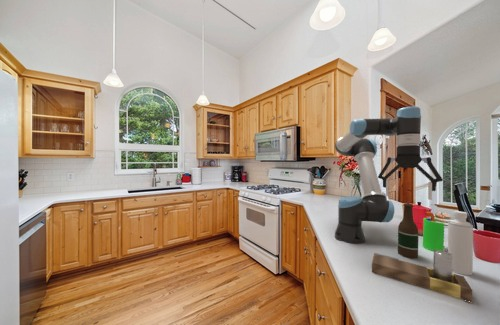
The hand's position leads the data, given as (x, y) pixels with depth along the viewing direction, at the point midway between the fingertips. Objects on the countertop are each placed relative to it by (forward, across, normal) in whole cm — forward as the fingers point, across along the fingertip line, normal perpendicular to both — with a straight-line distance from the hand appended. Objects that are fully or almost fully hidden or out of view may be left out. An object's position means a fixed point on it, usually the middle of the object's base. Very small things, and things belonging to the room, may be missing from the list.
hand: (407, 197), depth 79 cm
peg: (+29, +9, -10) cm, 32 cm away
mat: (+29, -7, +1) cm, 30 cm away
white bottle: (+29, +17, +10) cm, 35 cm away
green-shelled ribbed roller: (+29, +12, +31) cm, 44 cm away
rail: (+29, +2, -10) cm, 30 cm away
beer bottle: (+29, +1, +13) cm, 32 cm away
